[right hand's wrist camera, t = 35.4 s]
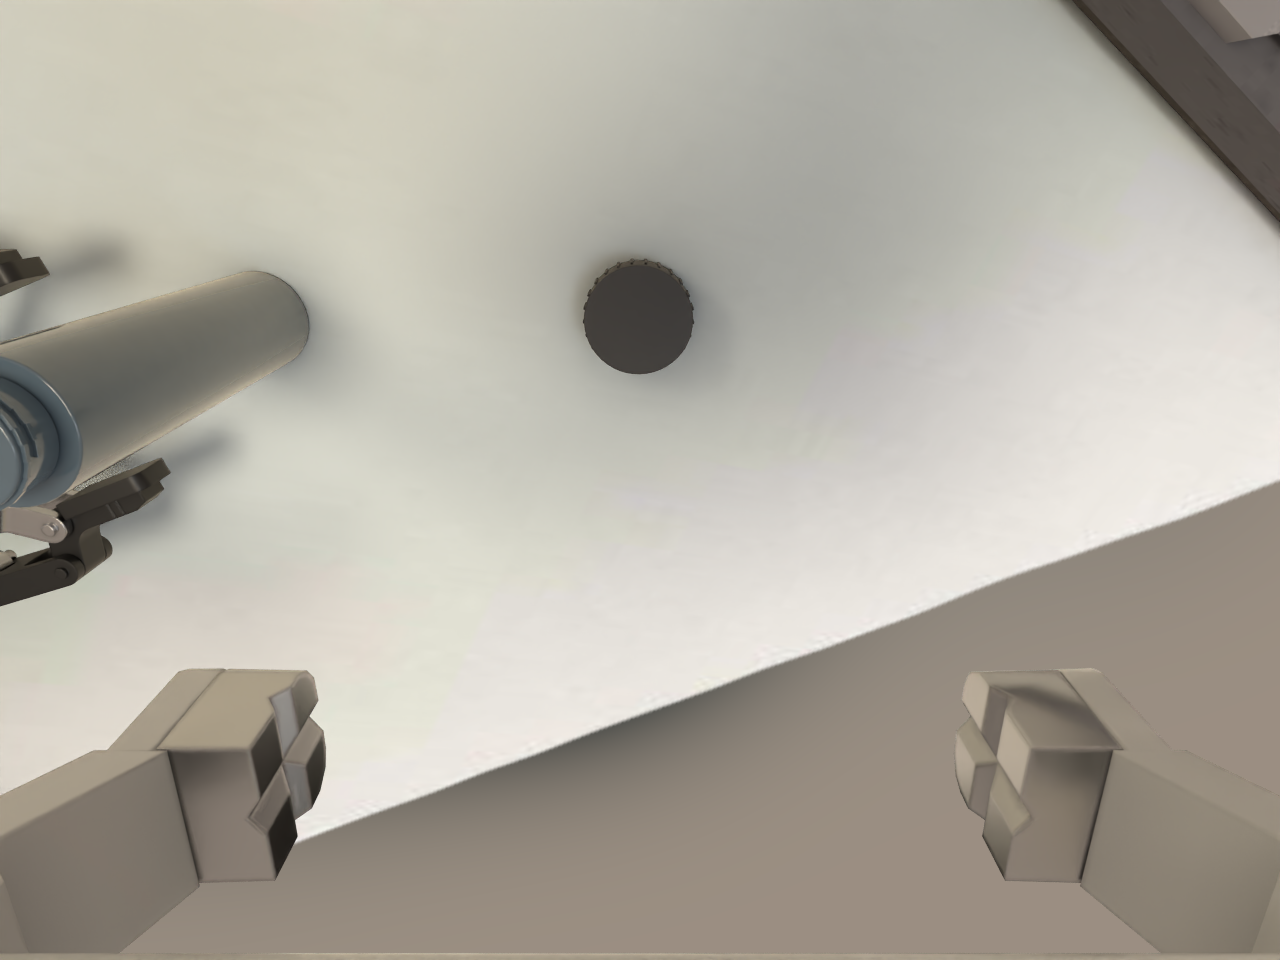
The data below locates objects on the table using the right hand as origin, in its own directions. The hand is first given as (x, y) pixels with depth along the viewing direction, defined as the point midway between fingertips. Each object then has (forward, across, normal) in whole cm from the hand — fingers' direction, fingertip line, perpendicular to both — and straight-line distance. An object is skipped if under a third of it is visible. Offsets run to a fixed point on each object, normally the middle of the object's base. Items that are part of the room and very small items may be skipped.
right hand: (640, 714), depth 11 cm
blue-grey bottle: (+29, +17, 0) cm, 34 cm away
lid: (+28, 0, 0) cm, 28 cm away
